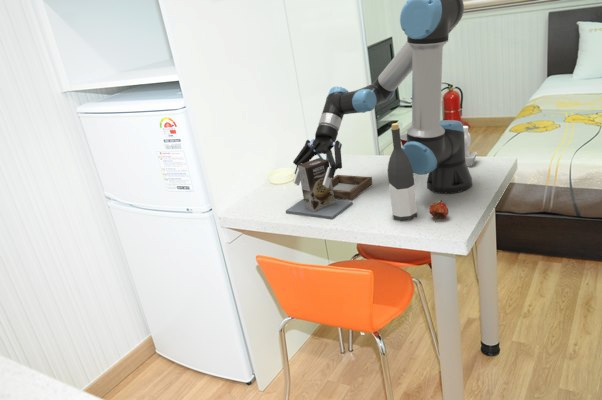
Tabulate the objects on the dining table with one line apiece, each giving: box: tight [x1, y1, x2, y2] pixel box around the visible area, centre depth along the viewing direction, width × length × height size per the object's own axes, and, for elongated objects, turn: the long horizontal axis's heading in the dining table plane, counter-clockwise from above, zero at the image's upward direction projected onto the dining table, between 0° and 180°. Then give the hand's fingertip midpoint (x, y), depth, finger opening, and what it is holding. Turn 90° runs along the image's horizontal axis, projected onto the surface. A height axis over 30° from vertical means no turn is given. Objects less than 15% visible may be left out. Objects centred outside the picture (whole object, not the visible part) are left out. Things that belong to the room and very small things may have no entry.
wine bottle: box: [387, 122, 418, 222], centre depth 157 cm, size 8×8×30 cm
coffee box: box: [298, 157, 336, 212], centre depth 176 cm, size 9×6×16 cm
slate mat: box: [285, 198, 354, 220], centre depth 180 cm, size 20×13×1 cm, turn 54°
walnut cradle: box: [331, 174, 373, 201], centre depth 191 cm, size 15×15×3 cm
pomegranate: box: [428, 199, 449, 223], centre depth 155 cm, size 6×6×8 cm
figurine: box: [463, 125, 478, 167], centre depth 193 cm, size 7×9×15 cm
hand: (310, 185), depth 174 cm, fingers open, 12 cm apart
